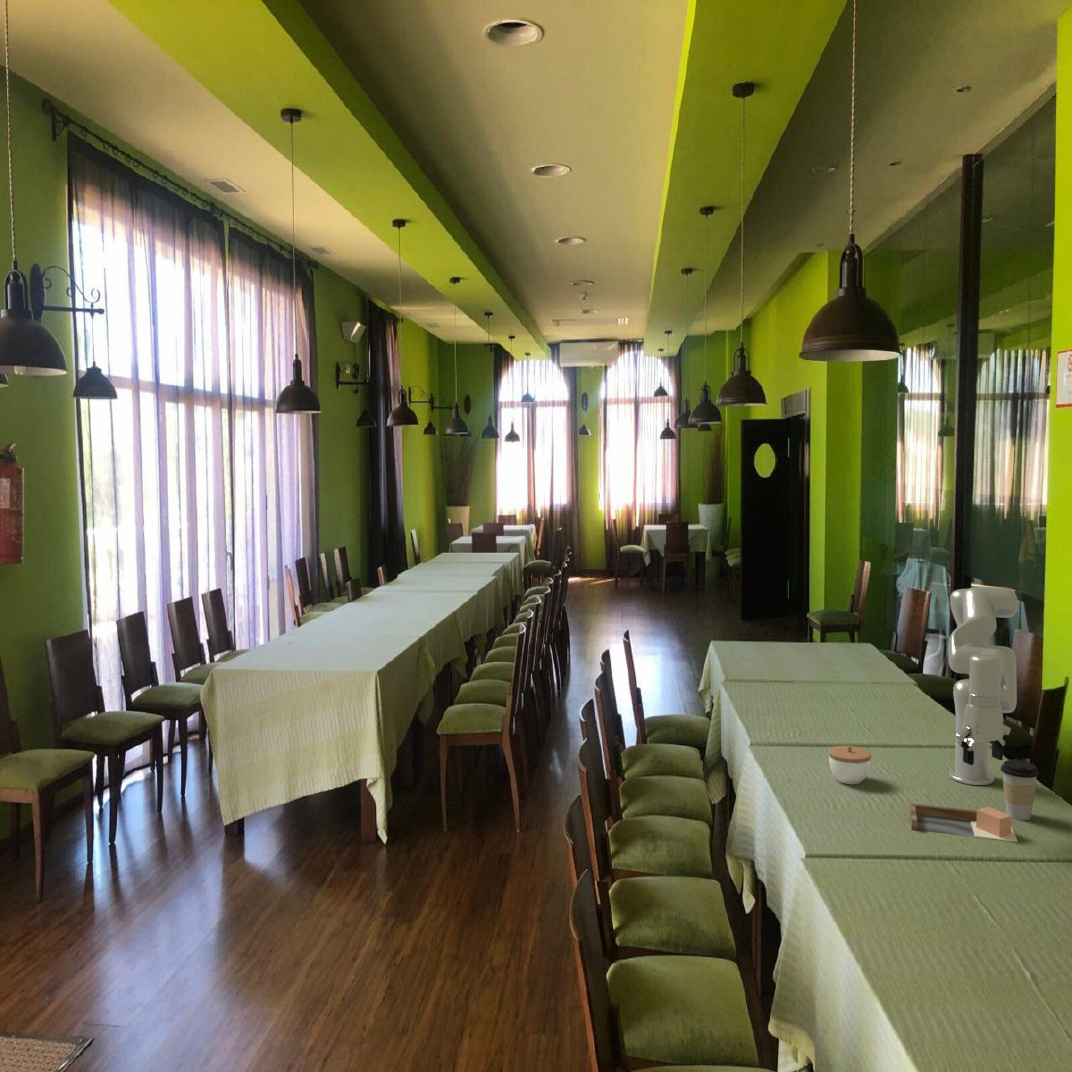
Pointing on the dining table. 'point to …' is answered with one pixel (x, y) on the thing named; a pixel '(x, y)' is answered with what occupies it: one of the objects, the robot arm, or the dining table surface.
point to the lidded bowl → (849, 763)
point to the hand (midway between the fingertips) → (982, 761)
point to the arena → (942, 820)
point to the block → (993, 821)
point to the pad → (987, 835)
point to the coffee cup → (1019, 788)
